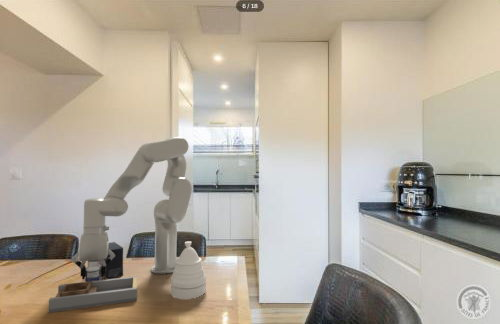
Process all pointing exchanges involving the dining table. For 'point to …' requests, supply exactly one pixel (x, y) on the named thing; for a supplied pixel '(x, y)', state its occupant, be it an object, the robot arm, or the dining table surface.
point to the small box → (114, 262)
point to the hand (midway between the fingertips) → (93, 276)
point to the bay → (98, 295)
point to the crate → (77, 289)
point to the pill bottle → (93, 271)
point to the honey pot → (188, 275)
